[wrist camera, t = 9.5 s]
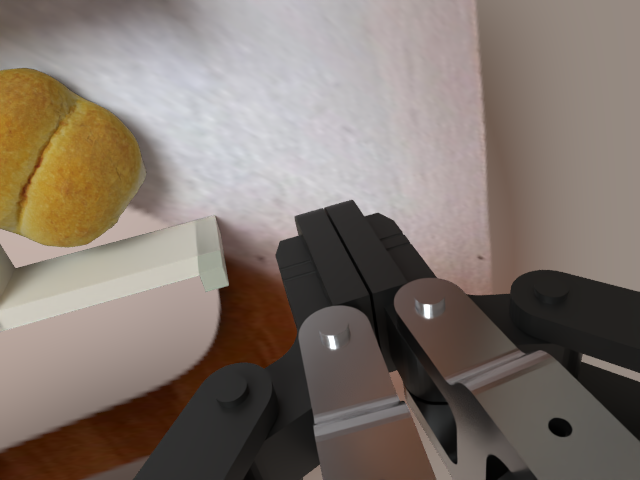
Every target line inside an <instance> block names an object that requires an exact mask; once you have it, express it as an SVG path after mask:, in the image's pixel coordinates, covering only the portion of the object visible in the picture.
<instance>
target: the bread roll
mask: <svg viewBox="0 0 640 480" xmlns="http://www.w3.org/2000/svg"><path fill="white" fill-rule="evenodd" d="M146 173H147V172H146V169H145V166H144V164H143V161H142V156H141V152H140V148H139V145H138V143H137V141H136V139H135V137H134V136H133V134H132V133H131V132H130V130H129V129H128V128H127V127H126V126H125V125H124V124H123V123H122V122H121V121H120V120H119V119H118V118H117V117H116V116H115V115H114V114H112V113H111V112H110V111H108V110H107V109H105V108H103V107H101V106H99V105H97V104H95V103H92V102H90V101H87V100H85V99H84V98H82V97H80V96H79V95H77V94H75V93H73V92H72V91H70V90H69V89H68V88H67V87H66V86H64V85H63V84H62V83H60V82H59V81H57V80H56V79H54V78H52V77H51V76H49V75H46V74H44V73H42V72H39V71H37V70H34V69H28V68H17V69H8V70H1V71H0V229H3V230H6V231H9V232H13V233H16V234H19V235H21V236H24V237H27V238H29V239H31V240H33V241H35V242H38V243H40V244H43V245H47V246H57V247H75V246H81V245H86V244H88V243H90V242H92V241H93V240H95V239H96V238H98V237H99V236H101V235H102V234H103V233H105V232H106V231H107V230H108V229H110V228H112V227H113V226H114V224H116V223H117V221H118V219H119V217H120V215H121V214H122V213H123V212H124V210H125V209H126V207H127V206H128V204H129V202H130V201H131V200H132V199H133V197H134V196H135V195H136V193H137V192H138V190H139V188H140V186H141V185H142V184H143V182H144V180H145V177H146Z"/></svg>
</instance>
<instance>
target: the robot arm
mask: <svg viewBox="0 0 640 480" xmlns="http://www.w3.org/2000/svg"><path fill="white" fill-rule="evenodd" d="M295 222H296V227H297V231H298V235H299V236H296V237H293V238H289V239H286V240H282V241H280V243H279V246H278V249H277V252H276V259H277V262H278V266H279V270H280V273H281V277H282V280H283V284H284V287H285V291H286V294H287V298H288V301H289V305H290V308H291V311H292V314H293V318H294V321H295V324H296V327H297V337H296V340H295V342H294V344H293V345H292V347H291V348H290V350H289V351H288V352H287V353H286V354H285V355H284V356H283V357H282V358H280V359H279V360H277V361H276V362H274V363H273V364H271V365H269V366H268V367H266V368H265V369H263V368H262V367H260V366H258V365H255V364H251V363H236V364H232V365H228V366H226V367H223V368H221V369H219V370H217V371H216V372H214V373H213V374H212V375H210V376H209V377H208V378H207V379H206V380H205V381H204V382H203V383H202V385H201V386H200V387H199V389H198V390H197V392H196V393H195V394H194V396H193V397H192V399H191V400H190V401H189V403H188V404H187V405H186V407H185V408H184V410H183V411H182V412H181V414H180V415H179V417H178V418H177V419H176V421H175V422H174V424H173V425H172V426H171V428H170V429H169V430H168V432H167V433H166V435H165V436H164V437H163V439H162V440H161V442H160V443H159V444H158V446H157V447H156V449H155V450H154V451H153V453H152V454H151V455H150V457H149V458H148V460H147V461H146V462H145V464H144V465H143V467H142V468H141V469H140V471H139V472H138V474H137V475H136V476H135V478H134V479H133V480H303V477H304V476H305V475H306V474H308V473H309V472H310V471H312V470H313V469H314V468H316V467H317V466H318V465H320V467H321V472H322V477H323V480H436V477H435V475H434V472H433V470H432V467H431V464H430V462H429V459H428V457H427V454H426V451H425V449H424V447H423V444H422V441H421V439H420V436H419V434H418V431H417V428H416V426H415V423H414V421H413V418H412V416H411V413H410V411H409V409H408V407H407V405H406V403H405V402H404V401H400V400H399V398H398V396H397V393H396V390H395V388H394V385H393V383H392V380H391V377H390V374H389V372H393V371H396V370H397V371H398V372H399V374H400V376H401V378H402V380H403V386H404V394H405V398H406V401H407V403H408V405H409V406H410V408H411V410H412V411H413V413H414V414H415V416H416V418H417V420H418V421H419V423H420V425H421V426H422V428H423V430H424V431H425V433H426V435H427V436H428V438H429V439H430V441H431V443H432V445H433V446H434V448H435V450H436V451H437V453H438V454H439V456H440V458H441V459H442V461H443V463H444V464H445V466H446V468H447V469H448V471H449V473H450V475H451V477H452V479H453V480H640V382H638V381H635V380H632V379H629V378H627V377H624V376H621V375H618V374H615V373H612V372H610V371H607V370H604V369H601V368H598V367H595V366H592V365H589V364H587V363H584V362H581V360H582V354H586V355H588V356H592V357H594V358H597V359H600V360H603V361H606V362H609V363H612V364H615V365H618V366H621V367H624V368H627V369H630V370H633V371H635V372H638V373H640V292H637V291H633V290H629V289H626V288H622V287H618V286H614V285H610V284H606V283H602V282H598V281H594V280H591V279H587V278H583V277H579V276H575V275H571V274H567V273H563V272H559V271H552V270H538V271H532V272H528V273H525V274H523V275H521V276H519V277H518V278H517V279H516V280H515V281H514V282H513V284H512V286H511V292H510V294H499V295H468V294H466V293H465V292H464V291H463V290H462V289H461V288H460V287H458V286H457V285H455V284H454V283H452V282H450V281H447V280H444V279H439V278H437V277H436V276H435V275H434V273H433V272H432V271H431V269H430V268H429V267H428V265H427V264H426V263H425V261H424V260H423V259H422V257H421V256H420V255H419V253H418V252H417V251H416V249H415V248H414V247H413V245H412V244H410V242H409V240H408V239H407V238H406V236H405V235H403V233H402V231H401V230H400V228H399V227H398V226H397V224H396V223H395V222H394V221H393V220H392V219H390V218H388V217H386V216H384V215H382V214H380V213H375V214H372V215H368V216H365V217H364V215H363V214H362V212H361V211H360V209H359V208H358V206H357V205H356V203H355V202H354V201H353V200H349V201H346V202H342V203H339V204H335V205H332V206H328V207H325V208H324V209H323V208H322V209H318V210H315V211H311V212H307V213H304V214H300V215H297V216H295Z"/></svg>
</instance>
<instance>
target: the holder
mask: <svg viewBox="0 0 640 480" xmlns="http://www.w3.org/2000/svg"><path fill="white" fill-rule="evenodd" d="M197 276H200V278H201V281H202V283H203V286H204V289H205V291H206V292H207V291H211V290H214V289H218V288H221V287H225V286H228V285H229V283H228V277H227V270H226V264H225V258H224V252H223V246H222V240H221V234H220V230H219V227H218V224H217V221H216V218H215V215H214V216H210V217H206V218H203V219H199V220H195V221H191V222H188V223H184V224H180V225H176V226H173V227H169V228H165V229H162V230H158V231H154V232H150V233H147V234H143V235H139V236H135V237H131V238H128V239H124V240H120V241H117V242H113V243H109V244H106V245H101V246H98V247H94V248H90V249H87V250H83V251H80V252H75V253H72V254H68V255H64V256H60V257H57V258H53V259H49V260H45V261H42V262H38V263H34V264H30V265H27V266H23V267H19V268H15V267H14V265H13V264H12V262H11V261H10V259H9V257H8V256H7V254H6V253H5V251H4V250H3V248H2V246H1V245H0V332H1V331H5V330H8V329H12V328H15V327H19V326H22V325H26V324H30V323H33V322H37V321H40V320H44V319H47V318H51V317H55V316H58V315H61V314H65V313H69V312H72V311H76V310H80V309H83V308H87V307H90V306H94V305H97V304H101V303H104V302H108V301H111V300H115V299H118V298H122V297H126V296H129V295H133V294H136V293H140V292H143V291H147V290H150V289H154V288H157V287H161V286H164V285H168V284H172V283H175V282H179V281H183V280H186V279H189V278H193V277H197Z"/></svg>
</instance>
